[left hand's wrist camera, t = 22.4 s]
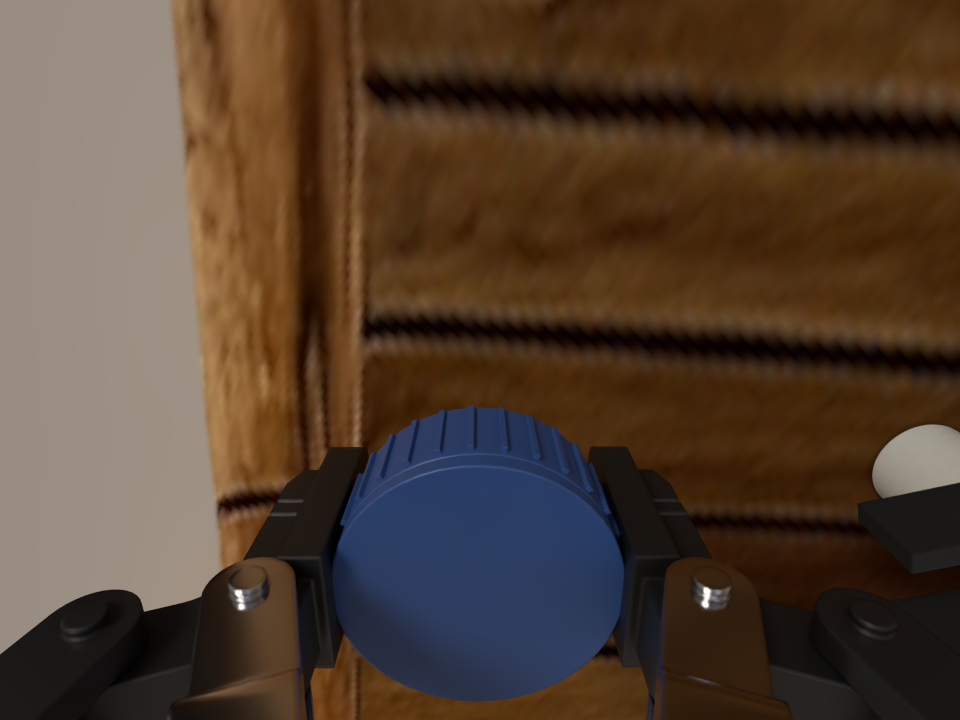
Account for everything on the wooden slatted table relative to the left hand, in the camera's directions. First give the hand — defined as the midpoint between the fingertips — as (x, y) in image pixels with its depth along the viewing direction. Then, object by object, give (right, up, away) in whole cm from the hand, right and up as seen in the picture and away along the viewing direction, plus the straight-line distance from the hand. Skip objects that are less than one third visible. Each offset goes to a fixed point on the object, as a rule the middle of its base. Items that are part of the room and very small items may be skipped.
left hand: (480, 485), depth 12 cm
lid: (0, -1, -3) cm, 3 cm away
